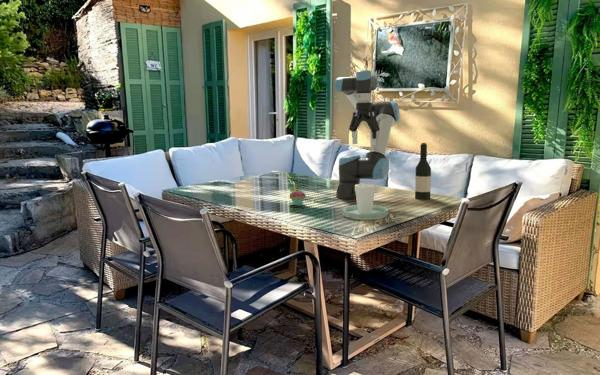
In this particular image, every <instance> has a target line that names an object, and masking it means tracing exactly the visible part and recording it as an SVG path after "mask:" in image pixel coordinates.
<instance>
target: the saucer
mask: <svg viewBox="0 0 600 375" xmlns="http://www.w3.org/2000/svg"><path fill="white" fill-rule="evenodd" d="M388 214H389V210H388V209H387V207H385V206H380V205H375V204H373V208H372V213H371V214H359V213H358V208H357V204H354V205H348V206H345V207H343V208H342V216H343V217H345V218H348V219H352V220H357V221H358V220H360V221H361V220H362V221H371V220H372V221H373V220H379V219H380V220H381V219H385V218H386V217H387V216H388Z"/></svg>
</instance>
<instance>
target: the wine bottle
mask: <svg viewBox="0 0 600 375" xmlns="http://www.w3.org/2000/svg"><path fill="white" fill-rule="evenodd" d="M427 154H428V144H427V143H426V142H421V144H420V158H419V162H418V163H417V165H416V166H415V176H414V178H415V182H414V189H415V190H414V198H415V200H420V201H423V200H425V201H427V200H430V199H431V185H432V184H431V183H432V178H431V176H432V167H431V165H430V164H429V162H428V161H427V159H428V157H427V156H428V155H427Z"/></svg>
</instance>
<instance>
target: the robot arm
mask: <svg viewBox="0 0 600 375" xmlns="http://www.w3.org/2000/svg"><path fill="white" fill-rule="evenodd" d="M378 87H379V80H378V78H377V77H375V76H374V75H372V71H371V70H368V69H362V70H358V71H356V74H355V76H342V77H337V78H335V80H334V90H335V91H336V92H338V93H343V94H344V95H345V97H346V98H347V100H348V101H349V103H351V105H352V106H353V107H354V111H353V112H352V119H351V121H350V125H349V127H348V130H349V131H351V137H352V145H358V128H359V127H360V125H361V123H362V122H366V124H367V126H368V127H369V129H370V148H369V151H368V152H367V153H366V154H365V157H361V156H360V155H359V154H353V155H346V156H341V157H340V158H339V159H338V186H337V189H336V192H335V197H336V198H337V199H343V200H356V192H355V185H357V184H361V179H363V180H384V179H385V178H386V177H387V175H388V171H389V160H388V158H387V156H386V151H387V146H388V142H389V139H390V134H391V129H392V127H394V126H395V124H396V123H398V122H399V121H400V107H399V103H398V102H396V101H391V100H390V101H372V92H373V91H375V90H377V88H378Z"/></svg>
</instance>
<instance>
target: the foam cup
mask: <svg viewBox="0 0 600 375" xmlns="http://www.w3.org/2000/svg"><path fill="white" fill-rule="evenodd" d="M355 192H356V199H355V200H356V205H357V208H358V213H359V214H371V213H372V208H373V205H374V200H375V192H376V185H375V184H373V183H360V184H357V185H355Z"/></svg>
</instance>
